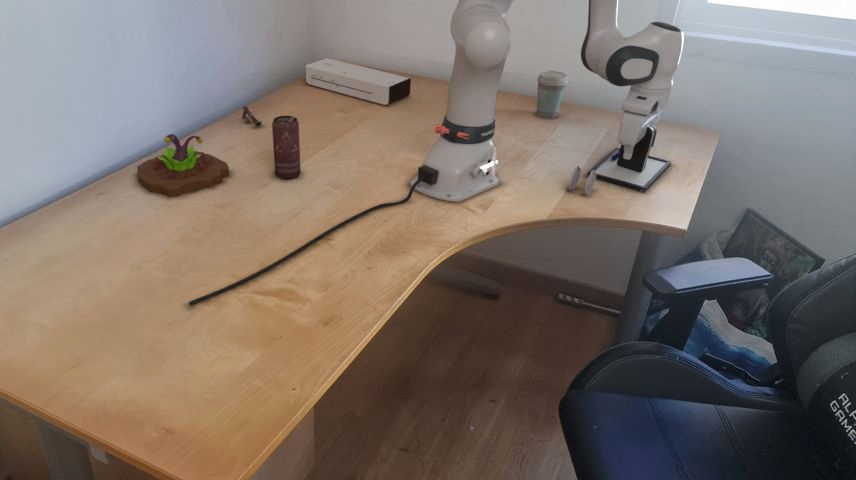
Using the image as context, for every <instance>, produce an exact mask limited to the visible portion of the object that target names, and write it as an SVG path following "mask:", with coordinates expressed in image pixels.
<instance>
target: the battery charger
mask: <svg viewBox="0 0 856 480" xmlns="http://www.w3.org/2000/svg"><path fill="white" fill-rule="evenodd" d="M657 132H658V131H657V126H656V127H655V126H653V125H650V126H648V127H647V130H646V134H645V136H644V137H643V138H642V139H641V140H640V141H639V142H638V143H636V144H635V146H634V149H633V151H634V153H633V156H632V158H631V159H629V160H628V159H624V158H623V155H624V145H621V144H620V147H619V148H620V153H619V157H618V161H617V165H619V166H621V167H624V168H627V169H630V170H634V171H637V172H643V171H644V170H645V167H646V162H647V158H648V155H649V156H650V153H651V149H652V148H653V147H654V144H655V141H656V137H657Z"/></svg>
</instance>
